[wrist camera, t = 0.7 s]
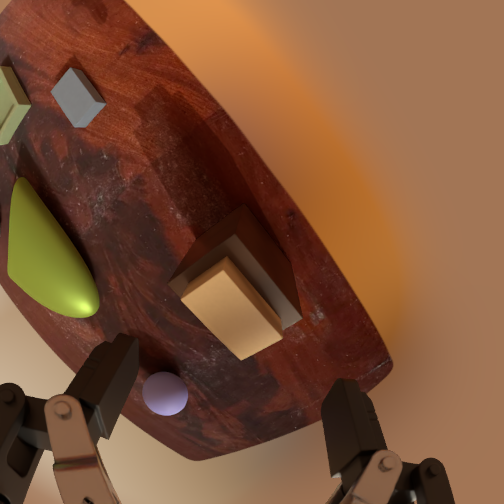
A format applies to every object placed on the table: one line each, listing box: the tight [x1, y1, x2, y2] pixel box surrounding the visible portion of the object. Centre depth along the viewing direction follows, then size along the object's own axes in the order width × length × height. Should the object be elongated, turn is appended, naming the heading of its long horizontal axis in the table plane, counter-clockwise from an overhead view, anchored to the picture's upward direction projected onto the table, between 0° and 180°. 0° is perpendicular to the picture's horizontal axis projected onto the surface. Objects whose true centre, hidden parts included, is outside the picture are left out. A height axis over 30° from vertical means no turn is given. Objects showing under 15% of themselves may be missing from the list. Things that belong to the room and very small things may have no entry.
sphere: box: [142, 372, 188, 415], centre depth 38 cm, size 7×7×7 cm
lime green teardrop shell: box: [8, 177, 99, 318], centre depth 30 cm, size 8×12×20 cm
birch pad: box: [181, 256, 283, 360], centre depth 21 cm, size 7×4×2 cm, turn 37°
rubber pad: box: [51, 67, 106, 127], centre depth 25 cm, size 7×4×2 cm, turn 37°
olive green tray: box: [0, 66, 31, 145], centre depth 24 cm, size 11×8×3 cm
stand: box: [167, 203, 303, 330], centre depth 28 cm, size 9×7×11 cm
